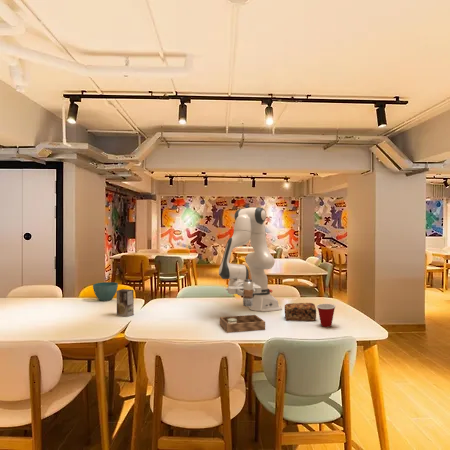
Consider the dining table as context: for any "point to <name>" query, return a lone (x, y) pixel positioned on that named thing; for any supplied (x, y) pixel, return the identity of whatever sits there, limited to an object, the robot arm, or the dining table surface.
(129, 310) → the coffee box
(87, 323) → the dining table surface
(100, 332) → the dining table surface
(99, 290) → the teal bowl
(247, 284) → the canister
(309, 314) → the bread
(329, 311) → the plastic cup
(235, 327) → the crate
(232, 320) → the jar
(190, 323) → the dining table surface
